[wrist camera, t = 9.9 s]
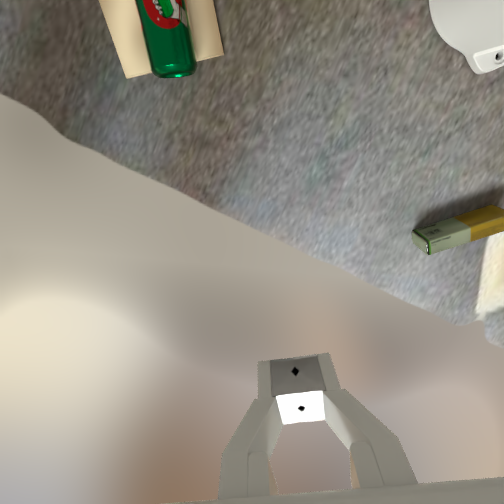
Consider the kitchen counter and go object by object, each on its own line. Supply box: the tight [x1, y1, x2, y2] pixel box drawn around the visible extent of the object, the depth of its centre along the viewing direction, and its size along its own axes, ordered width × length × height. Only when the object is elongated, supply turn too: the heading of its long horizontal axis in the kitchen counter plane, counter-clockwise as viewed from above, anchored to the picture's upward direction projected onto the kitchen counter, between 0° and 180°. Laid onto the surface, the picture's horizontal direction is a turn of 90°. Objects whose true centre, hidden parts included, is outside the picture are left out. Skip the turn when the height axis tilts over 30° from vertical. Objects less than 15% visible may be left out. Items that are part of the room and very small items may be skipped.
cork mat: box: [99, 0, 224, 78], centre depth 29 cm, size 12×9×1 cm
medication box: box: [412, 205, 504, 255], centre depth 40 cm, size 12×3×4 cm, turn 112°
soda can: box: [134, 0, 197, 78], centre depth 27 cm, size 5×5×12 cm
